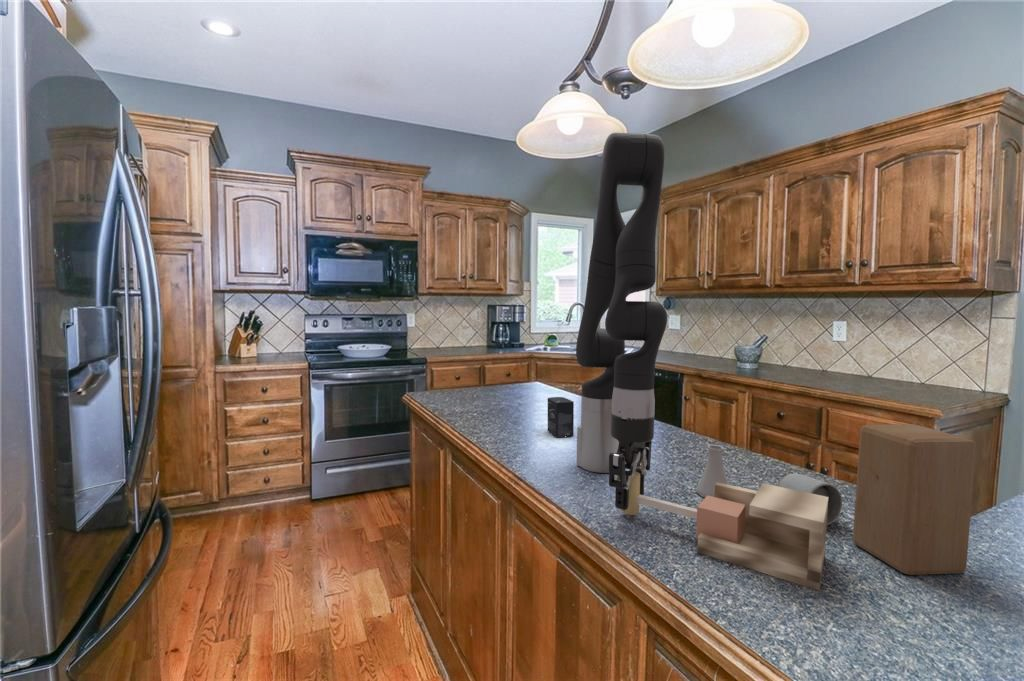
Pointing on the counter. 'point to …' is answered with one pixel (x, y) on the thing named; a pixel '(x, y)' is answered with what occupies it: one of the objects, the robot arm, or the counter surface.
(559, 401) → the box
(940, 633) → the counter surface
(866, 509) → the wooden block
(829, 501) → the ceramic mug
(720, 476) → the flask
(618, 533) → the counter surface
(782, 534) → the shelf
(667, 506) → the pull block
